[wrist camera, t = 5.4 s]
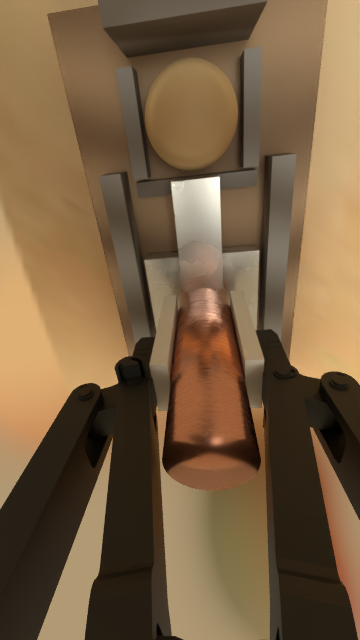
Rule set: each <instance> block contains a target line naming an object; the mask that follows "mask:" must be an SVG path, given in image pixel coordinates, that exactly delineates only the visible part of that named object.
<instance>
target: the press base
mask: <svg viewBox="0 0 360 640" xmlns="http://www.w3.org/2000/svg"><path fill="white" fill-rule="evenodd" d="M98 3H99V5H97V6H91V7H85V8H80V9H74V10H68V11H62V12H56V13H50V14H47V15H48V19H49V23H50V28H51V32H52V36H53V40H54V44H55V48H56V53H57V57H58V61H59V65H60V69H61V73H62V78H63V82H64V86H65V90H66V94H67V98H68V103H69V107H70V111H71V115H72V119H73V123H74V128H75V132H76V136H77V140H78V144H79V149H80V153H81V157H82V161H83V165H84V169H85V174H86V178H87V182H88V186H89V190H90V194H91V199H92V203H93V207H94V211H95V215H96V219H97V224H98V228H99V232H100V236H101V240H102V244H103V249H104V253H105V257H106V261H107V265H108V269H109V274H110V278H111V282H112V286H113V290H114V294H115V299H116V303H117V307H118V311H119V315H120V320H121V324H122V328H123V332H124V336H125V340H126V345H127V349H128V353H129V356H133V351H134V348H135V345H136V343H137V342H138V341H139V340H140V339H141V337H155V336H156V326H155V320H154V314H153V308H152V302H151V297H150V291H149V285H148V279H147V273H146V267H145V262H144V259H145V257H146V255H147V254H153V253H165V252H176V251H178V243H177V234H176V225H175V215H174V206H173V197H172V188H171V181H172V180H173V178H182V177H191V176H200V175H209V174H218V175H219V177H220V208H221V239H222V248H223V247H234V246H246V245H257V247H258V249H259V277H258V306H257V330H266V329H272V330H273V331H274V332H275V333H276V334H278V336H279V339H280V342H281V343H282V346H283V348H284V351H285V353H286V355H287V358H288V360H289V355H290V345H291V336H292V326H293V317H294V308H295V298H296V289H297V280H298V270H299V261H300V252H301V242H302V233H303V224H304V214H305V205H306V196H307V186H308V177H309V168H310V158H311V149H312V140H313V130H314V121H315V112H316V102H317V93H318V84H319V74H320V65H321V55H322V46H323V37H324V27H325V18H326V9H327V0H98ZM184 58H201V59H204V60H207V61H209V62H211V63H213V64H214V65H216V66H217V67H219V68H220V69H221V70H222V71H223V72H224V74H225V75H226V76H227V77H228V79H229V81H230V83H231V84H232V87H233V89H234V92H235V95H236V99H237V106H238V120H237V126H236V130H235V134H234V137H233V139H232V141H231V143H230V145H229V147H228V148H227V150H226V151H225V153H224V154H223V155H222V156H221V157H220V158H219V159H218V160H217V161H216V162H214V163H213V164H211V165H209V166H207V167H205V168H202V169H199V170H190V171H189V170H182V169H178V168H175V167H173V166H171V165H170V164H168V163H167V162H165V161H164V160H163V159H162V158H161V157H160V156H159V155H158V154H157V152H156V151H155V150H154V148H153V146H152V145H151V142H150V140H149V137H148V134H147V131H146V125H145V105H146V100H147V96H148V93H149V90H150V88H151V86H152V84H153V82H154V80H155V79H156V78H157V76H158V75H159V74H160V73H161V72H162V70H164V69H165V68H166V67H167V66H168V65H170V64H172V63H173V62H175V61H178V60H180V59H184Z"/></svg>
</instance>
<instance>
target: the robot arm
mask: <svg viewBox="0 0 360 640" xmlns="http://www.w3.org/2000/svg"><path fill="white" fill-rule="evenodd" d="M230 310H231V314H232V319H233V324H234V329H235V334H236V339H237V344H238V349H239V354H240V359H241V364H242V369H243V374H244V379H245V384H246V388H247V393H248V398H249V403H250V408H262V401H263V405H264V417H263V418H264V419H263V427H264V439H265V440H264V441H265V470H266V499H267V527H268V557H269V584H270V585H269V587H270V640H358V637H357V632H356V627H355V622H354V618H353V613H352V608H351V604H350V600H349V596H348V593H347V591H346V588H345V586H344V585H343V583H342V582H341V581H340V579H339V575H338V572H337V567H336V561H335V556H334V551H333V546H332V541H331V536H330V530H329V525H328V520H327V515H326V509H325V504H324V499H323V494H322V488H321V484H320V478H319V473H318V468H317V462H316V457H315V452H314V447H313V442H312V436H311V432H310V427H312V428H313V429H314V431H315V433H316V435H317V437H318V439H319V441H320V443H321V445H322V447H323V449H324V451H325V453H326V455H327V457H328V459H329V461H330V463H331V465H332V467H333V469H334V471H335V473H336V474H337V476H338V479H339V480H340V482H341V484H342V486H343V488H344V490H345V492H346V494H347V496H348V498H349V500H350V502H351V504H352V506H353V508H354V510H355V512H356V514H357V516H358V518H359V520H360V385H359V384H358V382H357V381H356V380H355V379H354V378H352V377H351V376H349V375H347V374H345V373H341V372H328V373H325V374H324V375H322V377H321V379H317V378H311V377H307V376H303V375H301V374H299V372H298V370H297V369H296V368H294V367H293V366H291V365H290V362H289V360H288V358H287V355H286V353H285V351H284V348H283V346H282V343H281V342H280V339H279V336H278V334H276V333H275V332H274V331H273V330H272V329H266V330H255V328H254V325H253V321H252V318H251V315H250V312H249V309H248V305H247V302H246V299H245V296H244V293H243V290H239V291H230ZM178 312H179V311H178V302H177V295H170V296H164V299H163V304H162V309H161V313H160V318H159V322H158V327H157V332H156V336H155V337H141V339H140V340H139V341H138V342H137V343H136V345H135V348H134V351H133V356H129V357H125V358H123V359H121V360H120V361H119V362H118V363H116V366H115V371H116V374H117V378H118V382H119V383H118V384H116V385H114V386H111V387H108V388H104V389H100V386H98V385H97V384H94V383H88V384H83V385H81V386H79V387H77V388H76V389H74V390H73V392H72V393H71V394H70V396H69V397H68V399H67V401H66V403H65V404H64V406H63V407H62V409H61V411H60V412H59V414H58V415H57V417H56V419H55V421H54V422H53V424H52V425H51V427H50V429H49V430H48V432H47V434H46V435H45V437H44V438H43V440H42V442H41V444H40V445H39V447H38V449H37V450H36V452H35V453H34V455H33V457H32V458H31V460H30V462H29V463H28V465H27V467H26V468H25V470H24V472H23V473H22V475H21V476H20V478H19V480H18V481H17V483H16V485H15V486H14V488H13V490H12V491H11V493H10V495H9V496H8V498H7V499H6V501H5V503H4V504H3V506H2V508H1V509H0V640H37V638H38V636H39V633H40V630H41V628H42V625H43V622H44V619H45V617H46V614H47V612H48V609H49V606H50V603H51V601H52V598H53V596H54V593H55V590H56V587H57V585H58V582H59V580H60V577H61V574H62V571H63V569H64V566H65V563H66V561H67V558H68V555H69V553H70V550H71V548H72V545H73V542H74V540H75V537H76V534H77V531H78V529H79V526H80V524H81V521H82V518H83V516H84V513H85V510H86V507H87V505H88V502H89V500H90V497H91V494H92V491H93V489H94V486H95V484H96V481H97V478H98V475H99V473H100V470H101V467H102V465H103V462H104V460H105V457H106V454H107V451H108V449H109V446H110V443H111V441H112V438H113V444H112V453H111V463H110V473H109V483H108V493H107V503H106V514H105V523H104V533H103V543H102V554H101V563H100V571H99V574H98V576H97V578H96V579H95V580H94V582H93V585H92V589H91V594H90V599H89V607H88V615H87V624H86V632H85V640H183V639H180V638H178V637H176V636H172V635H171V624H170V617H169V609H168V599H167V581H166V565H165V547H164V529H163V513H162V494H161V476H160V459H159V441H158V424H157V416H156V407H158V411H168V402H169V393H170V384H171V375H172V366H173V357H174V348H175V339H176V330H177V321H178Z"/></svg>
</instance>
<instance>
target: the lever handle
mask: <svg viewBox="0 0 360 640" xmlns="http://www.w3.org/2000/svg"><path fill="white" fill-rule="evenodd" d="M171 188H172V197H173V206H174V215H175V225H176V234H177V243H178V251H176V252H165V253H153V254H147V255H146V257H145V259H144V262H145V267H146V273H147V279H148V285H149V291H150V297H151V302H152V308H153V314H154V320H155V326H156V332H157V327H158V322H159V318H160V313H161V309H162V304H163V299H164V296H170V295H177V302H178V311H179V312H178V321H177V330H176V339H175V348H174V357H173V366H172V375H171V384H170V393H169V402H168V411H167V420H166V430H165V438H164V447H163V457H162V463H163V466H164V469H165V470H166V472H167V473H168V474H169V475H170V476H171V477H172V478H173V479H174V480H176V481H178V482H179V483H181V484H183V485H186V486H188V487H192V488H196V489H201V490H224V489H229V488H233V487H236V486H239V485H241V484H243V483H245V482H247V481H249V480H250V479H251V478H252V477H253V476H254V475H255V474H256V473H257V471H258V470H259V467H260V463H261V458H260V453H259V448H258V443H257V438H256V433H255V428H254V423H253V418H252V413H251V408H250V403H249V398H248V393H247V388H246V384H245V379H244V374H243V369H242V364H241V359H240V354H239V349H238V344H237V339H236V334H235V329H234V324H233V319H232V314H231V310H230V291H239V290H243V293H244V296H245V299H246V302H247V305H248V309H249V312H250V315H251V318H252V321H253V325H254V328H255V330H257V306H258V277H259V249H258V247H257V245H246V246H234V247H223V248H222V239H221V208H220V177H219V175H218V174H209V175H200V176H191V177H182V178H173V180H172V181H171Z"/></svg>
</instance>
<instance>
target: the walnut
mask: <svg viewBox="0 0 360 640" xmlns="http://www.w3.org/2000/svg"><path fill="white" fill-rule="evenodd" d="M237 120H238V106H237V99H236V95H235V92H234V89H233V87H232V84H231V83H230V81H229V79H228V77H227V76H226V75H225V74H224V72H223V71H222V70H221V69H220V68H219V67H217V66H216V65H214V64H213V63H211V62H209V61H207V60H204V59H201V58H184V59H180V60H178V61H175V62H173V63H172V64H170V65H168V66H167V67H166V68H165V69H164V70H162V72H161V73H160V74H159V75H158V76H157V78H156V79H155V80H154V82H153V84H152V86H151V88H150V90H149V93H148V96H147V100H146V105H145V125H146V131H147V134H148V137H149V140H150V142H151V145H152V146H153V148H154V150H155V151H156V152H157V154H158V155H159V156H160V157H161V158H162V159H163V160H164V161H165V162H167V163H168V164H170V165H171V166H173V167H175V168H178V169H182V170H189V171H190V170H199V169H202V168H205V167H207V166H209V165H211V164H213V163H214V162H216V161H217V160H218V159H219V158H220V157H221V156H222V155H223V154H224V153H225V151H226V150H227V148H228V147H229V145H230V143H231V141H232V139H233V137H234V134H235V130H236V126H237Z"/></svg>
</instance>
